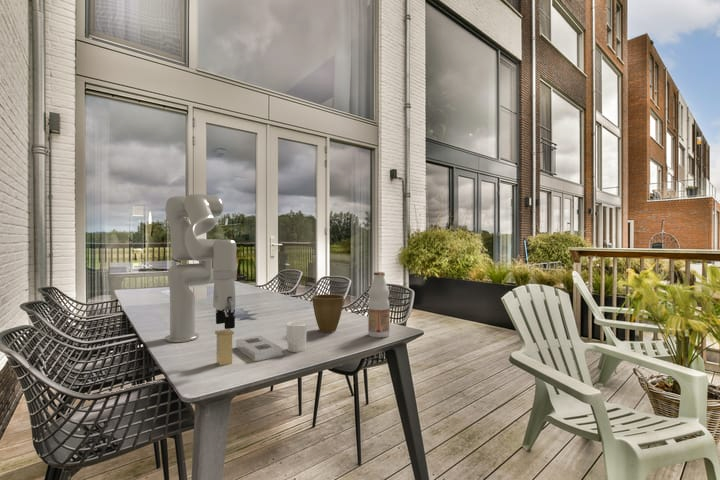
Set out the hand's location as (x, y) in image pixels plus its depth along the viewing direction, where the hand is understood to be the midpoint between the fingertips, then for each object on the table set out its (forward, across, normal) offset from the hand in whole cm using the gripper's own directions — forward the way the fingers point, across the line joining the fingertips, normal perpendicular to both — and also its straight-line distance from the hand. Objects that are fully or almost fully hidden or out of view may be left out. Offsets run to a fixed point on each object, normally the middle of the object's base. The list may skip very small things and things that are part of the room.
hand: (225, 325), depth 123 cm
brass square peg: (+13, -1, 0) cm, 13 cm away
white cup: (+13, 0, +27) cm, 30 cm away
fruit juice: (+13, +3, +66) cm, 67 cm away
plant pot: (+13, -17, +52) cm, 56 cm away
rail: (+13, -6, +14) cm, 20 cm away
